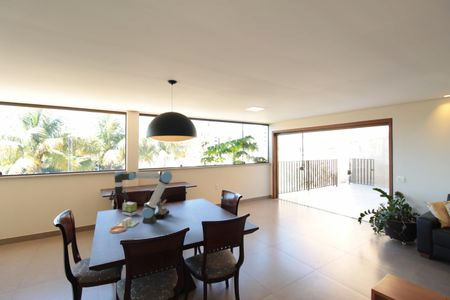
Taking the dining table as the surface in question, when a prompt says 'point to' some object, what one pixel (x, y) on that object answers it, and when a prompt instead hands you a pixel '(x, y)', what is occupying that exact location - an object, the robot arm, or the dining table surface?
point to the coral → (161, 210)
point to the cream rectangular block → (128, 220)
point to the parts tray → (128, 224)
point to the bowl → (117, 229)
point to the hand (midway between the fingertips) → (119, 206)
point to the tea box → (129, 208)
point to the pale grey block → (124, 222)
